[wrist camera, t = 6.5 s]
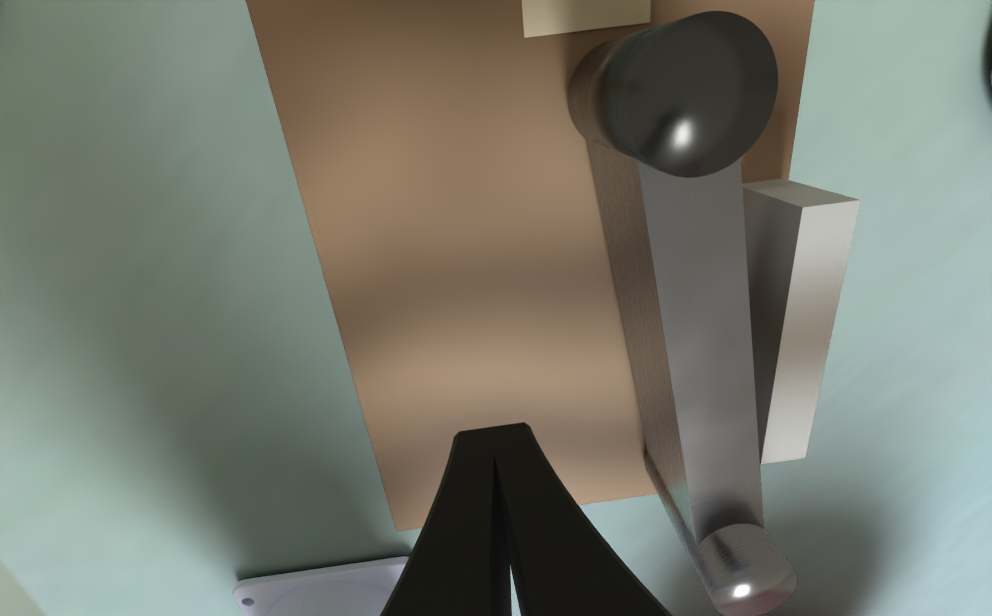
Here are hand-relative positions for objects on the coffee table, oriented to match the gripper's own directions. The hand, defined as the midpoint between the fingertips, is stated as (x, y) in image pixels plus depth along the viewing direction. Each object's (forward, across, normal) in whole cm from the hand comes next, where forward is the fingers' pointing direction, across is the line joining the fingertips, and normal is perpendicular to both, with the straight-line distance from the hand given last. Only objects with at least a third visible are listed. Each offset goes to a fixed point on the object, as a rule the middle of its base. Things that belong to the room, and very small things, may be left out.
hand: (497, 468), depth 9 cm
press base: (+8, -3, 0) cm, 9 cm away
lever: (+6, -5, 0) cm, 8 cm away
